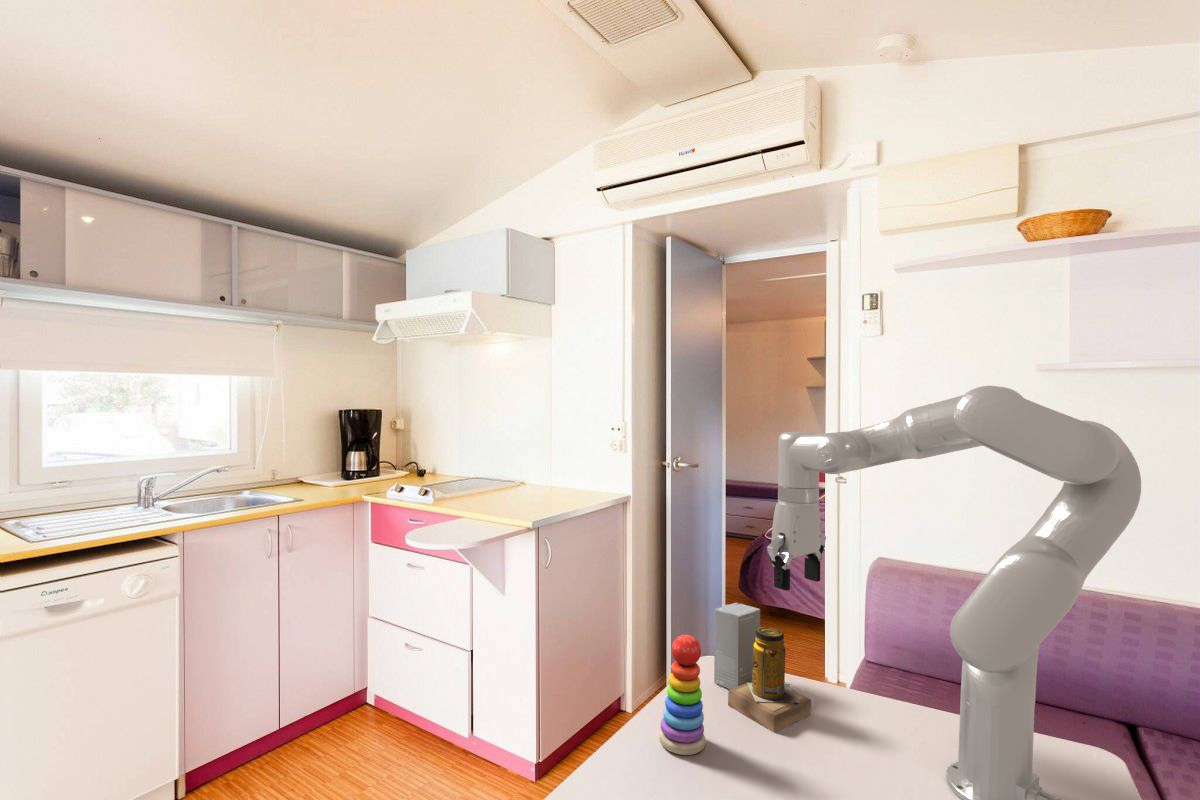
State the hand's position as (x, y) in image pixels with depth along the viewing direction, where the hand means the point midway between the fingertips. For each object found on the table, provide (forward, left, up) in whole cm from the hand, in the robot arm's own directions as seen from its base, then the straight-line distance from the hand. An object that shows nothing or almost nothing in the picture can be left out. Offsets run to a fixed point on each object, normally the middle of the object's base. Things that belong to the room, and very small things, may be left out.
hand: (797, 584), depth 114 cm
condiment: (+3, +3, -22) cm, 22 cm away
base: (+3, +4, -25) cm, 25 cm away
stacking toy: (+4, +26, -25) cm, 36 cm away
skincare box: (+14, +1, -25) cm, 29 cm away
